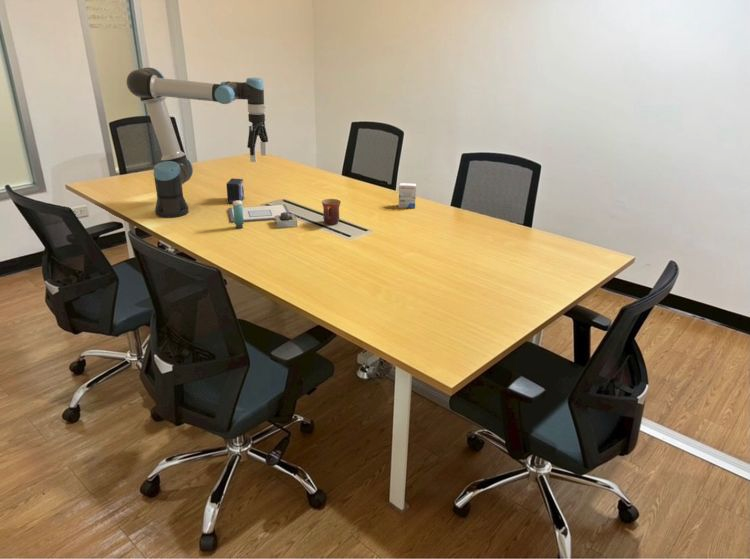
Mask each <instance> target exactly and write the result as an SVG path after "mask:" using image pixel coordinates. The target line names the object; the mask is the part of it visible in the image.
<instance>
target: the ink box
mask: <svg viewBox="0 0 750 559" xmlns="http://www.w3.org/2000/svg"><path fill="white" fill-rule="evenodd" d="M416 198H417V183H404V182H400V183H399V187H398V205H397V206H398V208H400V209H401V208H402V209H416Z"/></svg>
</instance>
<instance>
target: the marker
mask: <svg viewBox="0 0 750 559" xmlns="http://www.w3.org/2000/svg"><path fill="white" fill-rule="evenodd" d="M243 207H244V206H243V200H242V201H240V200H236V201H233V204H232V208H233V211H234V223H233V224H234V225H235V229H238V230H240V229H243V226H244V224H245V222H244V221H243Z"/></svg>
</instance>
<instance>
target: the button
mask: <svg viewBox="0 0 750 559" xmlns="http://www.w3.org/2000/svg"><path fill="white" fill-rule="evenodd" d="M290 214H291V212H290V213H288V212H283V213H281V220H291V215H290Z"/></svg>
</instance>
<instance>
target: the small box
mask: <svg viewBox="0 0 750 559" xmlns="http://www.w3.org/2000/svg"><path fill="white" fill-rule="evenodd" d="M225 185H226V193H227V194H226V196H227V199H226V200H227V204H231V205H233V201H236V200H240V201H242V202H243V200H244V199H245V191H244V190H245V189H244V179H243V178H231V179H229V181H227V183H226V184H225Z"/></svg>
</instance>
